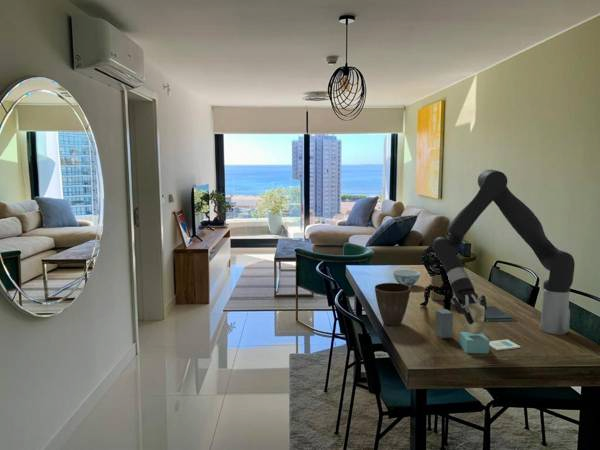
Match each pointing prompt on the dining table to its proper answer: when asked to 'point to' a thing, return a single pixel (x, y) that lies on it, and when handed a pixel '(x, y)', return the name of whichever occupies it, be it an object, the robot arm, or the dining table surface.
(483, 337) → the teal base block
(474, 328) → the maple block
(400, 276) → the chinaware
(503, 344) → the card
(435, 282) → the wooden block
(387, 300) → the plant pot
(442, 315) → the charcoal block
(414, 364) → the dining table surface
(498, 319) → the dark blue-grey book
